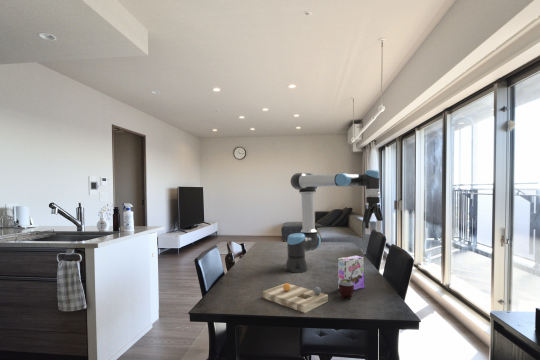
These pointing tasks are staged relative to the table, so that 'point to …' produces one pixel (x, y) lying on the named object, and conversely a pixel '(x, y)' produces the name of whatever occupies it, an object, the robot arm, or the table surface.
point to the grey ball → (317, 290)
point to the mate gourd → (346, 287)
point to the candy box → (348, 266)
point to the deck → (295, 297)
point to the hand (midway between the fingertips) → (373, 233)
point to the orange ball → (286, 287)
